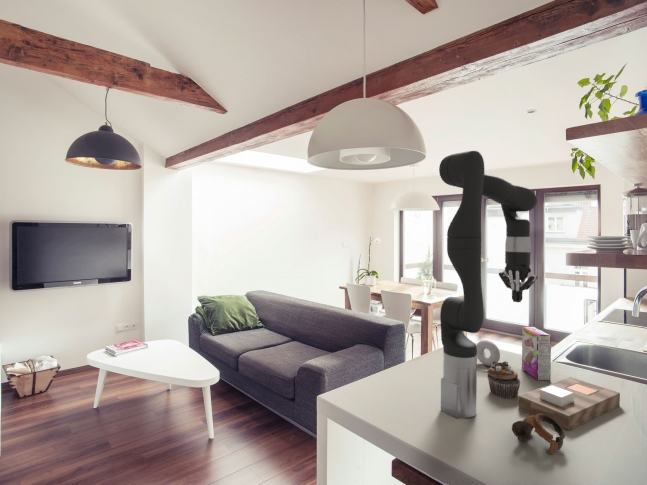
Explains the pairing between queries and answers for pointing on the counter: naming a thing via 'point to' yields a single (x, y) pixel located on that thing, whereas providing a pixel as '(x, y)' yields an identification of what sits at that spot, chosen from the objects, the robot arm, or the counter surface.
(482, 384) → the counter surface
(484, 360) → the donut
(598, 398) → the key panel
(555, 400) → the white rectangular block
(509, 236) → the robot arm
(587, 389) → the terracotta key
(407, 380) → the counter surface
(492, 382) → the cupcake
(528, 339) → the candy bar box
